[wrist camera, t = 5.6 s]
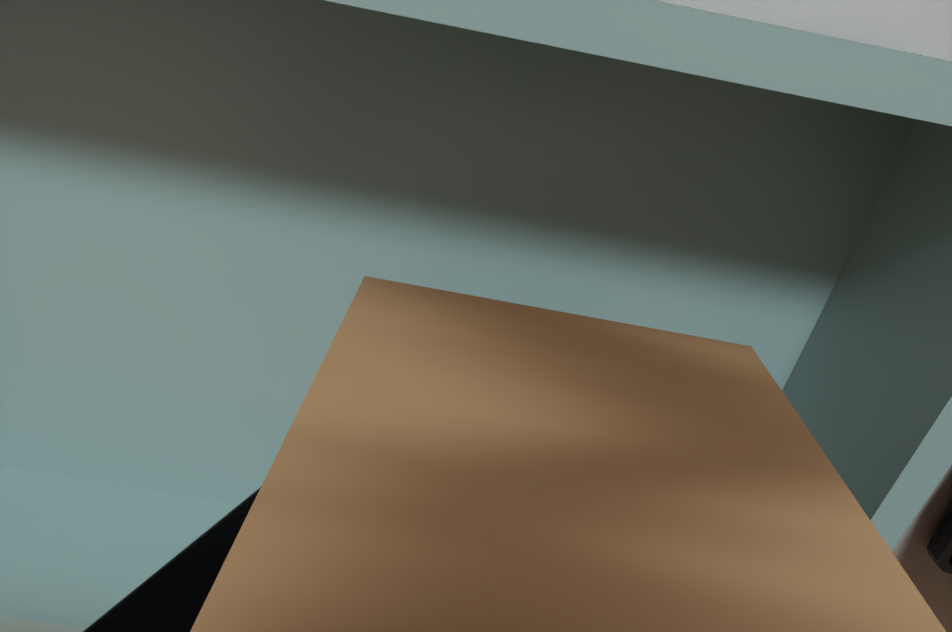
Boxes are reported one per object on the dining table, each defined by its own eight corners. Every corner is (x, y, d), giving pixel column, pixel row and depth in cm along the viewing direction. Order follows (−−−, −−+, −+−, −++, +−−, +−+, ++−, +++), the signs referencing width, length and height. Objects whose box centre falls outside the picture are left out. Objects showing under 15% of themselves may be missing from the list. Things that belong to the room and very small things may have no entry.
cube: (751, 346, 8) (1050, 786, 4) (635, 602, 10) (731, 1060, 6) (364, 275, 8) (178, 654, 3) (334, 553, 10) (202, 993, 6)
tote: (956, 68, 10) (1197, 112, 7) (698, 576, 16) (754, 747, 12) (-279, -185, 9) (-765, -292, 6) (-83, 451, 15) (-266, 596, 11)
